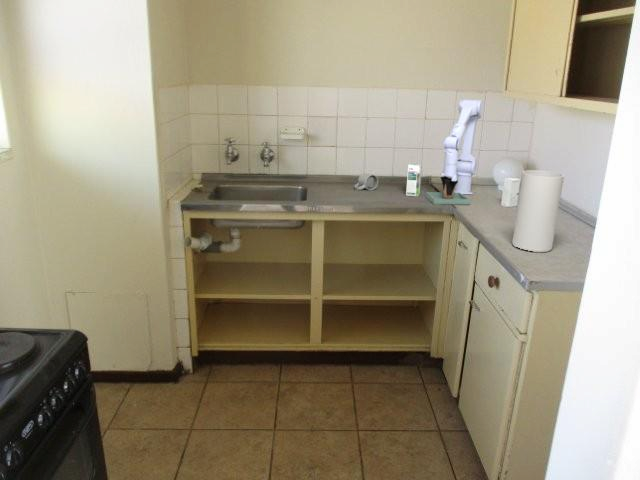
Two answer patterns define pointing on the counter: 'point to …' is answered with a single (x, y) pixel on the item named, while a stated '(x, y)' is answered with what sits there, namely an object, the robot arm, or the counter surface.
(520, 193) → the cylinder vase
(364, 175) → the ceramic mug
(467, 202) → the tray
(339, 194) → the counter surface
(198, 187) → the counter surface
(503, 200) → the skincare box
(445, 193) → the salt shaker
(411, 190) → the syrup box
